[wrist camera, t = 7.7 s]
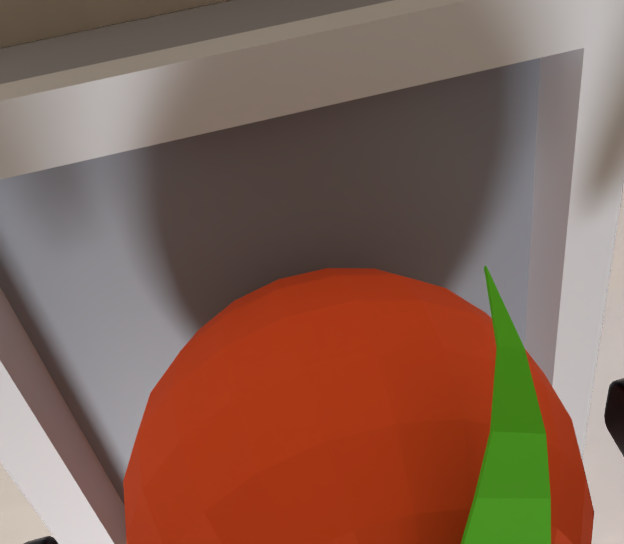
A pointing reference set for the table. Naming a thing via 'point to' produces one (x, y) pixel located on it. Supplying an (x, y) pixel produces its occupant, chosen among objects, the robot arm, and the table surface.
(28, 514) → the table surface
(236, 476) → the clementine
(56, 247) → the grey storage bin
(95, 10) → the table surface
